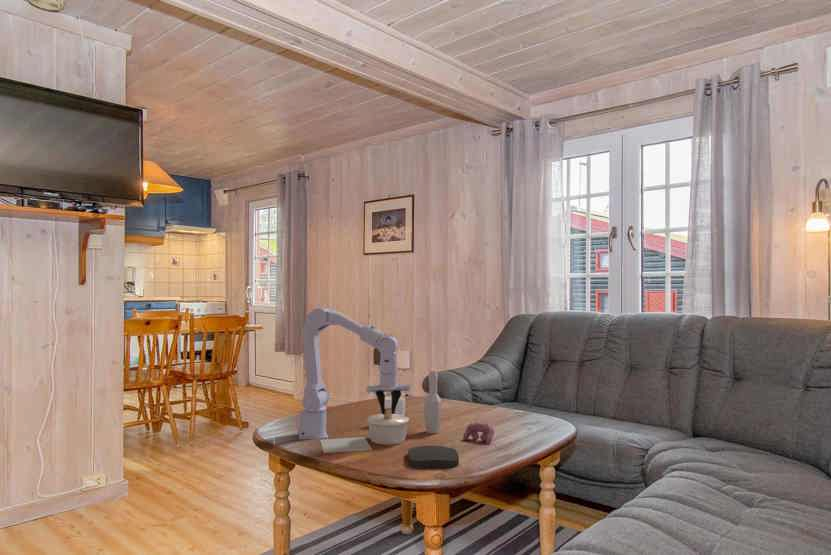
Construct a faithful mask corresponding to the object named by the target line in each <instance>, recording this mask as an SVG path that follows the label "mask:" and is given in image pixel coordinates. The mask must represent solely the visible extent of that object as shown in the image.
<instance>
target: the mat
mask: <svg viewBox="0 0 831 555" xmlns="http://www.w3.org/2000/svg"><path fill="white" fill-rule="evenodd" d="M319 441H320V445H321V448H322V451H323V453H324V454H328V453H329V454H330V453H331V454H332V453H342V452H343V453H345V452H346V453H347V452H348V453H349V452H359V451H360V452H362V451H373V448H372V447H371V445H370V444H369V443H368V440H367V439H366V437H365V436H364V437H363V436H361V437H344V438H323V439H319Z"/></svg>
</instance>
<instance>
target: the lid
mask: <svg viewBox="0 0 831 555" xmlns="http://www.w3.org/2000/svg"><path fill="white" fill-rule="evenodd" d="M366 422H367V424H368V423H370V424H373V425H380V426H396V425H402V424H406V423H409V422H410V418H409V416H407V415H405V414H404V415H400V414H392V408H385V414H382V413H378V414H372V415H369V416H368V417H366Z"/></svg>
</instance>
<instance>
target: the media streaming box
mask: <svg viewBox="0 0 831 555" xmlns="http://www.w3.org/2000/svg"><path fill="white" fill-rule="evenodd" d="M407 451H408V452H407V459H408V464H409V466H411V467H413V466H414V467H413V468H416V467H419V468H418V469H446V468H447V469H450V468H451V467H452V468H456V467H458V466H459V464H460V462H459V461H460V457H459V454H458V451H457V449H456V448H453V447H448V446H443V445H433V444H431V445H420V446H414V447H410V448H408V450H407ZM455 466H456V467H455Z"/></svg>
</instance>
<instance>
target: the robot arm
mask: <svg viewBox="0 0 831 555" xmlns="http://www.w3.org/2000/svg"><path fill="white" fill-rule="evenodd" d="M329 326H339V327H343V328H344V329H345V330H348V331H350V332H352V333H354V334H356V335H358V336H359V338H360V341H362V342H364V343H366V344H368V345H369V346H371V347H372V348H375V349H376V350H377V349H378V351H379V353H380V359H379V384H376V385H375V384H374V385H366V389H365V392H366V393H367V394H369V393H375V396H376V397H377V400H378V404H379V407H380V412H381V413H380V414H385V397H386V395H385V393H390V394H391V395H390V396H391V397H392V406H391V408H392V414H395V409H396V405H397V403H398V400H399V398H400V397H402V392H411V386H410V384H398V352H397V351H398V350H399V348H400V347H399V346H400V344H399V340H398V339H397V338H396V337H395V336H394V335H388V334H389V333H387V332H382V331H380V330H379V329H377V328H376V325H373V324H372V325H370V324H367V325H365V326H363V325H362V324H360V323H358V322H356V321H355V320H353V319H352V318H350V317H348V316H347V315H345V314H343V313H342V312H340V311H338V310H336V309H333V308H331V307H317V308H313V309H312V310H311V311H310V312H309V313H308V314H307V315H306V320H305V323H304V325H303V327H302V330H301V338H302V349H303V359H304V370H305V380H306V381H305V382H306V383H305V387H304V389H303V397H302V401H301V403H302V406H303V408H304V410H301V411H298V428H297V434H298V438H299V440H314V439H329V436H328V433H327V404H328V402H329V399H330V396H329V393H328V390H327V389H326V384H325V383H324V381H323V376H322V366H321V357H320V356H321V355H320V346H319V337H318V336H319V335H320V334H321V333H322V332H323V330H324V329H326V328H328V327H329Z"/></svg>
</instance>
